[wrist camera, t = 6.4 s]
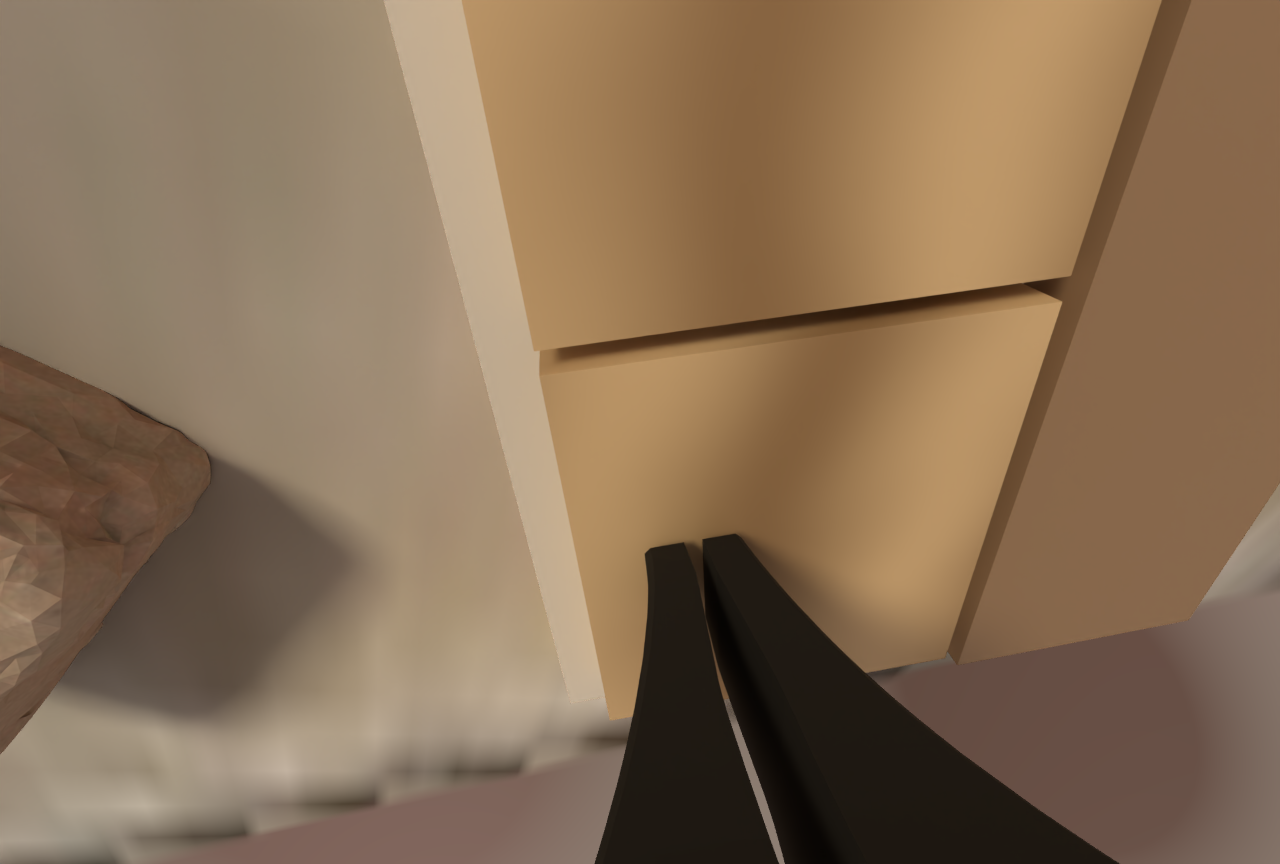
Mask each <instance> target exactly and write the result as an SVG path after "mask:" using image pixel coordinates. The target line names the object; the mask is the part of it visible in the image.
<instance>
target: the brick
mask: <svg viewBox="0 0 1280 864" xmlns="http://www.w3.org/2000/svg"><path fill="white" fill-rule="evenodd" d="M209 484H210V463H209V460H208V457H207V454H206V451H205V450H204V449H203V448H201V447H199V446H198V445H196V444H194V443H192V442H190V441H189V440H187V439H186V438H185V437H184V435H183V434H182V433H181V432H179V431H177V430H174V429H172V428H170V427H167V426H165V425H163V424H160V423H158V422H156V421H154V420H152V419H150V418H148V417H146V416H144V415H142V414H140V413H138V412H136V411H134V410H132V409H130V408H128V406H126V405H125V404H124V403H123V402H121V401H120V400H119V399H117V398H115V397H114V396H112V395H110V394H108V393H107V392H105V391H103V390H101V389H98V388H96V387H94V386H91V385H89V384H87V383H84V382H82V381H80V380H78V379H75V378H73V377H71V376H69V375H67V374H64V373H62V372H60V371H58V370H55V369H53V368H51V367H49V366H47V365H44V364H42V363H40V362H38V361H36V360H34V359H31V358H29V357H27V356H24V355H22V354H20V353H18V352H15V351H13V350H10V349H8V348H5V347H3V346H0V754H1V753H2V752H3V751H4V750H5V749H6V748H7V746H8V745H9V744H10V743H11V742H12V740H13V739H14V738H15V737H16V735H17V734H18V733H19V732H20V731H21V729H22V728H23V727H24V726H25V725H26V723H27V722H28V721H29V720H30V719H31V717H32V716H33V715H34V713H35V712H36V711H37V710H38V708H39V707H40V706H41V705H42V703H43V702H44V701H45V699H46V698H47V696H48V695H49V694H50V692H51V691H52V690H53V688H54V687H55V686H56V684H57V683H58V681H59V680H60V679H61V677H62V676H63V675H64V673H65V672H66V670H67V669H68V667H69V666H70V664H71V663H72V662H73V660H74V659H75V657H76V656H77V654H78V653H79V651H80V650H81V649H82V648H83V647H84V646H86V645H87V644H88V643H89V642H90V641H91V639H92V638H93V637H94V636H95V635H96V634H97V632H98V631H99V630H100V629H101V627H102V626H103V623H102V621H103V619H104V617H105V616H106V615H107V613H108V612H109V611H110V609H111V608H112V607H113V605H114V604H115V602H116V601H117V600H118V598H119V597H120V595H121V594H122V593H123V591H124V590H125V588H126V587H127V585H128V584H129V582H130V581H131V579H132V578H133V577H134V575H135V574H136V573H137V572H138V570H139V569H140V568H141V567H142V566H143V565H144V564H145V563H146V562H148V559H149V558H150V556H151V555H152V554H153V553H154V552H155V551H156V549H157V548H158V547H159V546H160V545H161V543H162V541H163V539H164V538H165V537H166V536H167V535H168V534H170V533H172V532H174V531H175V530H176V529H177V528H179V527H180V526H181V525H182V524H183V523H184V522H185V521H186V520H187V519H188V518H189V517H190V515H191V513H192V511H193V509H194V507H195V504H196V502H197V500H198V499H199V498H200V496H201V495H202V493H203V492H204V491H205V489H206V488H207V487H208V485H209Z"/></svg>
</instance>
